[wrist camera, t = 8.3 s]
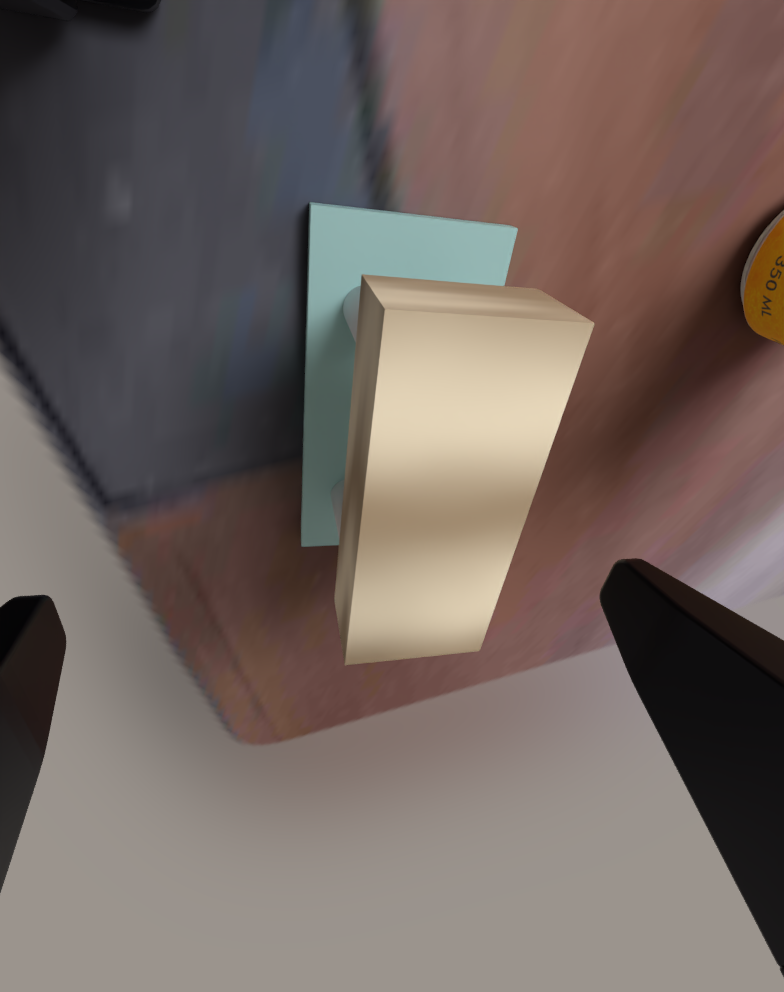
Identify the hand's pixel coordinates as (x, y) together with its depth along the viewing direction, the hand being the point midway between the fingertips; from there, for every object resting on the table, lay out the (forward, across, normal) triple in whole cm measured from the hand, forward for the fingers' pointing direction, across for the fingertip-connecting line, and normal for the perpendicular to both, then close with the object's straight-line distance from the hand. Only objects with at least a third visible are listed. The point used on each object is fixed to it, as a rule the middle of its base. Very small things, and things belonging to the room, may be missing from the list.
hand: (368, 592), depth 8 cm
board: (+8, -3, +3) cm, 9 cm away
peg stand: (+13, -4, +3) cm, 14 cm away
